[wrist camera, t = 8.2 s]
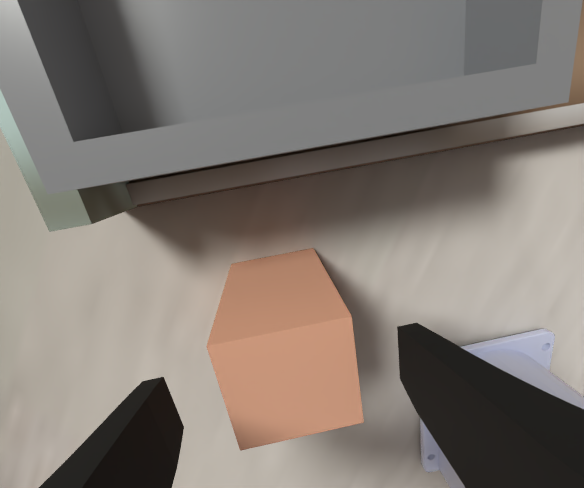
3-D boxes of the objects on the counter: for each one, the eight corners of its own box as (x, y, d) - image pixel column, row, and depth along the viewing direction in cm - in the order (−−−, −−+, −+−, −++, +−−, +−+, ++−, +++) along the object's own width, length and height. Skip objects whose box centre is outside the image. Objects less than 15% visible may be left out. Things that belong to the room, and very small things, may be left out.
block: (323, 317, 14) (363, 422, 9) (249, 333, 14) (240, 450, 8) (313, 248, 13) (351, 316, 7) (231, 263, 13) (206, 346, 7)
